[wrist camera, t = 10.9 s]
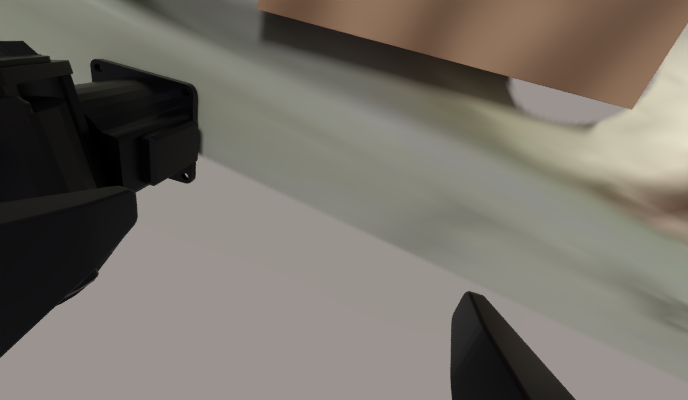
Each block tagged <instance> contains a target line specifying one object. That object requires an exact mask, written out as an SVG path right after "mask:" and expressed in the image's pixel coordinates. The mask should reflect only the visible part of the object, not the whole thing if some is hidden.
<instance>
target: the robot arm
mask: <svg viewBox="0 0 688 400" xmlns="http://www.w3.org/2000/svg"><path fill="white" fill-rule="evenodd" d="M100 66H101V67H102V70H101V69H100ZM90 67H91V75H92V82H91V83H84V84H77V85H74V83H73V80H72V77H71V74H73V71H72V68H71V65H70V62H69V60H50V57H49V56H41V55H40V54H37V53H36V52H35V51H34V50H33V49H32V48H30V47H29V46H28V45H27V44H26V43H25V42H24V41H0V358H1V357H2V356H3V355H4V354H5V353H6V352H7V351H8V350H9V349H10V348H11V347H12V346H13V345H15V344H16V343H17V342H18V341H19V340H20V339H21V338H22V337H23V336H24V335H25V334H26V333H27V332H28V331H30V330H31V329H32V328H33V327H34V326H35V325H36V324H37V323H38V322H39V321H40V320H41V319H42V318H43V317H44V316H45V315H47V313H49V312H50V311H51V310H52V309H53V308H54V307H55V306H57V305H59V304H61V303H63V302H65V301H67V300H68V299H70V298H72V297H73V296H75V295H76V294H78V293H79V292H80V291H81V290H83V289H84V288H85V287H86V286H87V285H88V284H90V283H91V282H93V281H94V280H95V278H96V277H97V276H98V274H99V273H98V271H99V269H100V268H101V267H102V265H103V264H104V263H105V262H106V260H107V259H108V258H109V256H110V255H111V254H112V252H113V251H114V250H115V248H116V247H117V245H118V244H119V243H120V242H121V240H122V239H123V238H124V236H125V235H126V234H127V233H128V232H129V231H130V229H131V228H132V227H133V226H134V225H135V223H136V221H137V217H138V215H137V201H136V194H135V193H136V192H137V191H139V190H141V189H143V188H145V187H146V186H148V185H152V186H155V185H157V184H158V183H160V182H162V181H164V180H165V179H167V178H169V179H173V180H176V181H179V182H183V183H190V182H192V181H193V180H194V179H195V175H196V171H195V170H196V161H197V159H198V123H197V91H196V89H195V87H194V86H193V85H192V84H190V83H186V82H183V81H179V80H176V79H172V78H169V77H165V76H161V75H158V74H154V73H151V72H147V71H144V70H140V69H137V68H133V67H129V66H126V65H122V64H119V63H115V62H112V61H108V60H105V59H94V60H92V61H91V64H90ZM186 89H187V90H188V91H189V96H188V95H187V94H186V92H185V90H186ZM185 173H186V174H187V175H188V177H189V178H188V177H186V175H185ZM450 370H451V371H450V379H451V393H452V400H576V399H575V398H574V397H573V396H572V395H571V394H570V393H569V392H568V391H567V389H566V388H565V387H564V386H563V385H562V384H561V383H560V382H559V380H558V379H557V378H556V377H555V376H554V375H553V374H552V372H551V371H550V370H549V369H548V368H547V367H546V366H545V364H544V363H543V362H542V361H541V360H540V359H539V358H538V357H537V355H536V354H535V353H534V352H533V351H532V350H531V349H530V347H529V346H528V345H527V344H526V343H525V342H524V341H523V340H522V338H521V337H520V336H519V335H518V334H517V333H516V332H515V331H514V329H513V328H512V327H511V326H510V325H509V324H508V323H507V321H506V320H505V319H504V318H503V317H502V316H501V315H500V314H499V312H498V311H497V310H496V309H495V308H494V307H493V306H492V304H491V303H490V302H489V301H488V300H487V299H486V298H485V297H484V296H483V295H480V294H477V293H474V292H470V291H468V292H466V293H465V294H464V295H463V297H462V299H461V300H460V303H459V304H458V306H457V308H456V310H455V312H454V313H453V316H452V324H451V368H450Z"/></svg>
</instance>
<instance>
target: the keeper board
mask: <svg viewBox="0 0 688 400" xmlns="http://www.w3.org/2000/svg"><path fill="white" fill-rule="evenodd" d="M258 10H262V11H266V12H270V13H273V14H277V15H281V16H284V17H288V18H292V19H296V20H299V21H303V22H307V23H311V24H314V25H318V26H322V27H326V28H329V29H333V30H337V31H341V32H344V33H348V34H352V35H355V36H359V37H363V38H367V39H370V40H374V41H378V42H382V43H385V44H389V45H393V46H397V47H400V48H404V49H408V50H411V51H415V52H419V53H423V54H426V55H430V56H434V57H438V58H441V59H445V60H449V61H453V62H456V63H460V64H464V65H468V66H471V67H475V68H479V69H482V70H486V71H490V72H494V73H497V74H501V75H505V76H509V77H512V78H516V79H520V80H524V81H527V82H531V83H535V84H538V85H542V86H546V87H550V88H554V89H557V90H561V91H565V92H568V93H572V94H576V95H580V96H583V97H588V98H591V99H595V100H598V101H602V102H606V103H609V104H613V105H617V106H621V107H624V108H628V109H633V107H634V105H635V104H636V102H637V101H638V99H639V98H640V96H641V95H642V93H643V91H644V90H645V88H646V87H647V85H648V84H649V82H650V81H651V79H652V77H653V76H654V74H655V73H656V71H657V70H658V68H659V67H660V65H661V64H662V62H663V60H664V59H665V57H666V56H667V54H668V53H669V51H670V50H671V48H672V46H673V45H674V43H675V42H676V40H677V39H678V37H679V36H680V34H681V32H682V31H683V29H684V28H685V26H686V25H687V23H688V0H258Z"/></svg>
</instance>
